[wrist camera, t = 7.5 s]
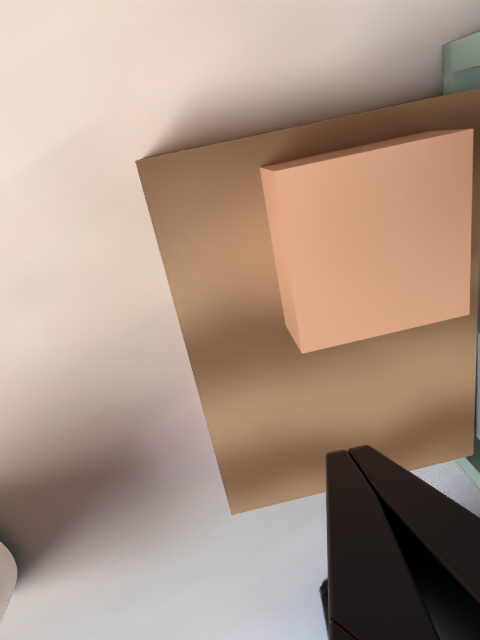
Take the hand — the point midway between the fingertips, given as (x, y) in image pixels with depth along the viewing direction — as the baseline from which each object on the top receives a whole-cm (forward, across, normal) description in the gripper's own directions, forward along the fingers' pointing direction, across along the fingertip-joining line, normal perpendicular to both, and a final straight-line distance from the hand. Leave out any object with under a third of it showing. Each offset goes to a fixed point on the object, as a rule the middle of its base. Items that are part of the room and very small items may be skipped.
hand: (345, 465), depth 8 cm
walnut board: (+11, -3, +2) cm, 12 cm away
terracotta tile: (+9, -4, -2) cm, 10 cm away
